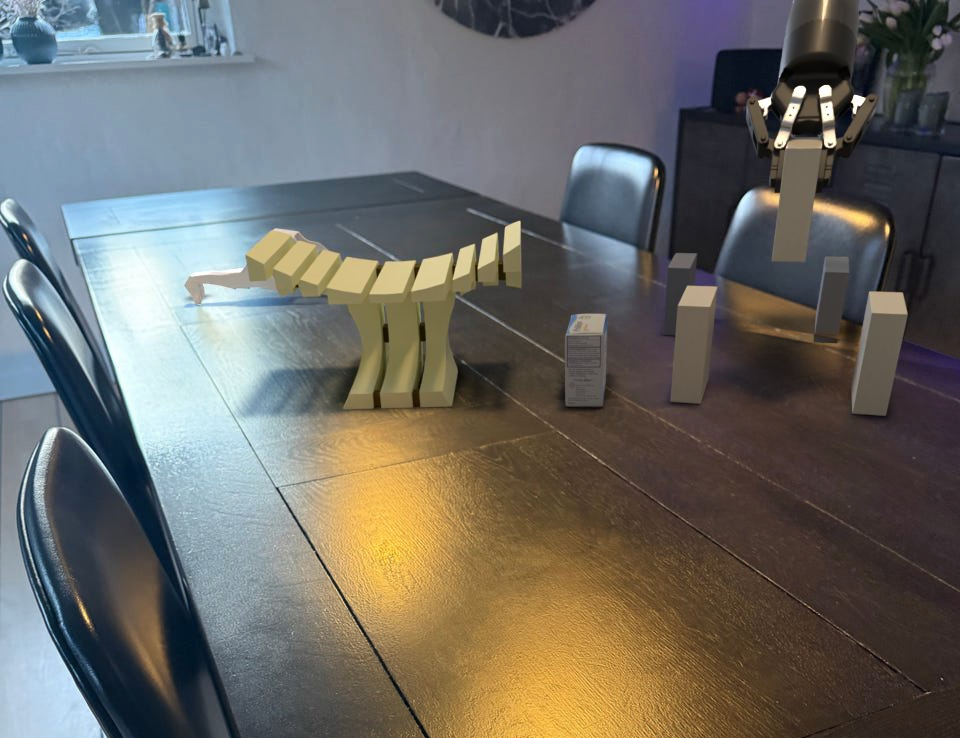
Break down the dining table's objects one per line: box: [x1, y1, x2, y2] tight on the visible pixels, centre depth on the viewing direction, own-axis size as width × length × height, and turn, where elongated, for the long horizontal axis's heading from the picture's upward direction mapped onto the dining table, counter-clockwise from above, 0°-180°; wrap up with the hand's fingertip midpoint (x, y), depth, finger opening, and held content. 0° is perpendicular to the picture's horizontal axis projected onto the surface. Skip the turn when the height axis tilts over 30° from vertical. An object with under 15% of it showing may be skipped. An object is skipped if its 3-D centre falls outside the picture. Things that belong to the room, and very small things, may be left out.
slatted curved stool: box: [245, 220, 523, 410], centre depth 112 cm, size 30×16×18 cm, turn 88°
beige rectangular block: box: [771, 136, 823, 263], centre depth 100 cm, size 4×8×11 cm, turn 162°
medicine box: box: [564, 313, 608, 408], centre depth 108 cm, size 8×4×9 cm, turn 171°
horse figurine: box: [183, 227, 344, 306], centre depth 150 cm, size 5×16×25 cm
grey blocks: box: [662, 252, 850, 344], centre depth 127 cm, size 23×8×9 cm, turn 73°
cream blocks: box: [670, 285, 909, 417], centre depth 105 cm, size 24×8×11 cm, turn 73°
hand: (798, 187), depth 98 cm, fingers closed on beige rectangular block, 3 cm apart
